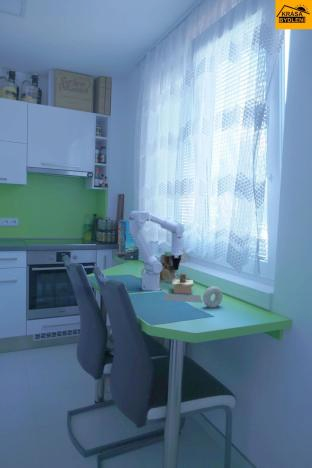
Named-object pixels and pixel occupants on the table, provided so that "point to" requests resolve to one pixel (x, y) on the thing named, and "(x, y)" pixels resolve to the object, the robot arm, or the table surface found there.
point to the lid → (182, 281)
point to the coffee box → (167, 269)
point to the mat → (182, 298)
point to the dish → (182, 289)
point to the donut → (216, 300)
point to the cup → (142, 271)
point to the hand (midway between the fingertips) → (176, 268)
